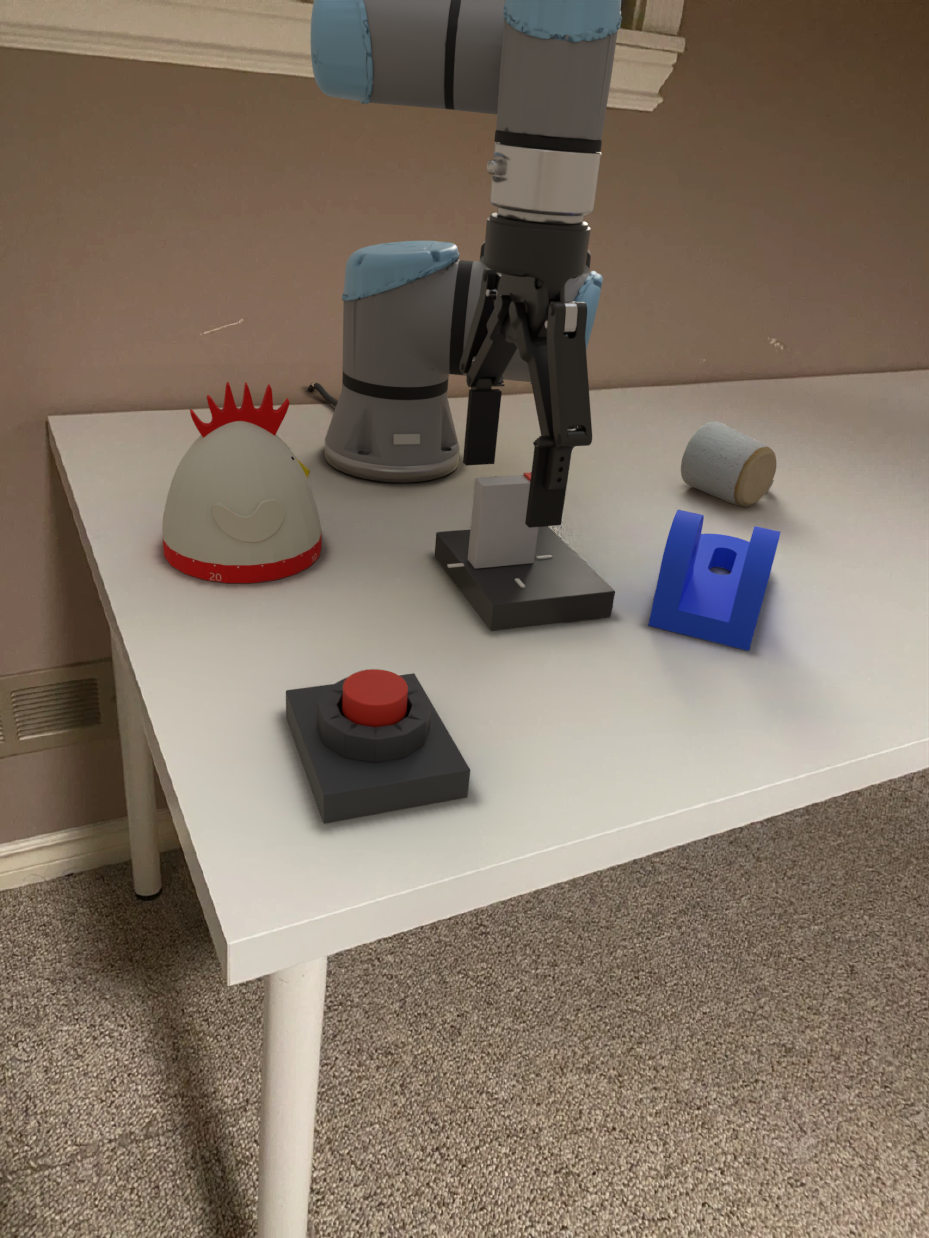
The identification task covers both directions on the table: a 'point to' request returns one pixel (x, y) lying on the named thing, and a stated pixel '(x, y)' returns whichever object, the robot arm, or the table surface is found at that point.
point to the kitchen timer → (241, 499)
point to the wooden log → (728, 464)
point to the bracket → (712, 582)
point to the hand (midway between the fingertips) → (508, 492)
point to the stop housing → (374, 755)
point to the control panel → (527, 584)
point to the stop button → (374, 698)
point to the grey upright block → (501, 522)
